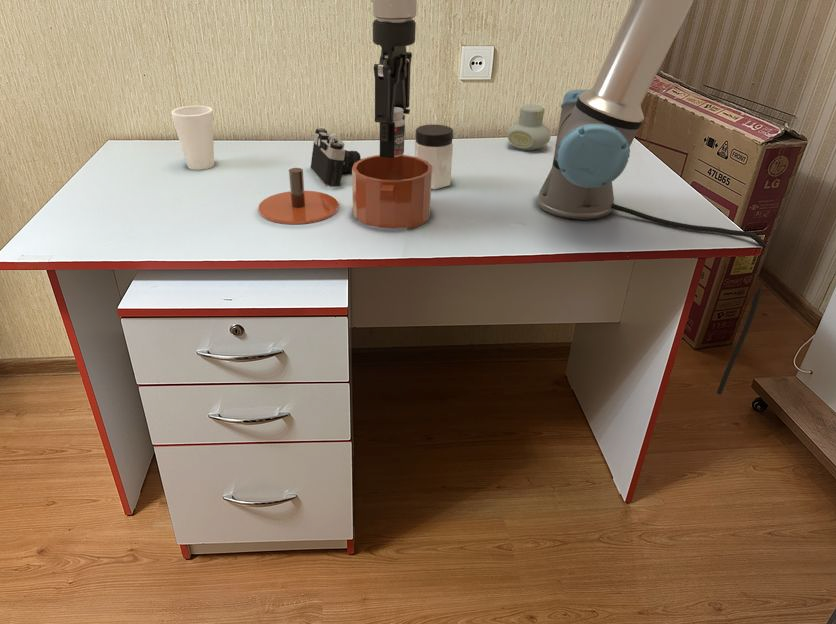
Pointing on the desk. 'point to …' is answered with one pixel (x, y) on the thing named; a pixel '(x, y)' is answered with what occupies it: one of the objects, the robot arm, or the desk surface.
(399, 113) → the pill bottle
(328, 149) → the camera
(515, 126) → the air freshener
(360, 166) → the pot
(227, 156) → the desk surface
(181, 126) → the foam cup
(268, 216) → the lid
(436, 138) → the jar
